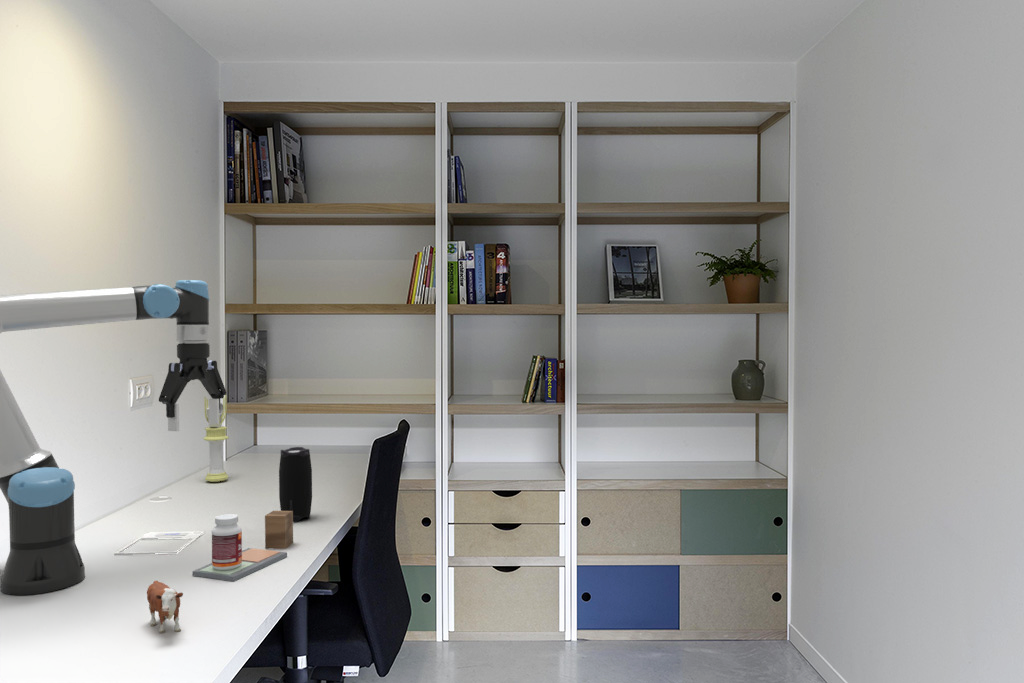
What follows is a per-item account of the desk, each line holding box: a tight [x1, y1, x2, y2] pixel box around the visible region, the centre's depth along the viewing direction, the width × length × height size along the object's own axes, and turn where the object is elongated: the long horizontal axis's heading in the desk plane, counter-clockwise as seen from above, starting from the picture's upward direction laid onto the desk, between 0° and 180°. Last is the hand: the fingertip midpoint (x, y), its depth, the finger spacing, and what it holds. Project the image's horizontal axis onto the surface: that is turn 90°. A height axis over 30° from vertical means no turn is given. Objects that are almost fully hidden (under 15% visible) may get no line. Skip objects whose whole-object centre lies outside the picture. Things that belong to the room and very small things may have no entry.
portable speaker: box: [278, 446, 313, 523], centre depth 211 cm, size 9×9×20 cm
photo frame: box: [113, 530, 206, 556], centre depth 188 cm, size 15×1×18 cm
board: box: [191, 547, 288, 582], centre depth 170 cm, size 18×11×1 cm, turn 160°
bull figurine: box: [146, 580, 184, 634], centre depth 135 cm, size 4×13×8 cm, turn 36°
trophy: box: [202, 394, 230, 483], centre depth 263 cm, size 8×8×30 cm
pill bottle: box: [211, 513, 243, 570], centre depth 165 cm, size 6×6×11 cm
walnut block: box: [264, 510, 294, 550], centre depth 185 cm, size 5×5×8 cm
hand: (194, 427), depth 189 cm, fingers open, 13 cm apart
